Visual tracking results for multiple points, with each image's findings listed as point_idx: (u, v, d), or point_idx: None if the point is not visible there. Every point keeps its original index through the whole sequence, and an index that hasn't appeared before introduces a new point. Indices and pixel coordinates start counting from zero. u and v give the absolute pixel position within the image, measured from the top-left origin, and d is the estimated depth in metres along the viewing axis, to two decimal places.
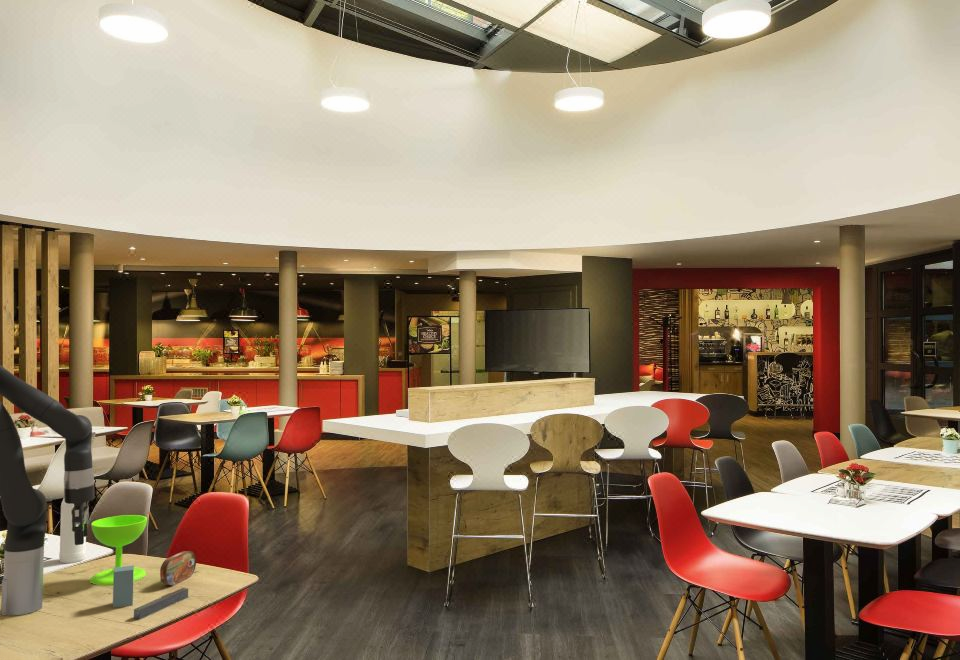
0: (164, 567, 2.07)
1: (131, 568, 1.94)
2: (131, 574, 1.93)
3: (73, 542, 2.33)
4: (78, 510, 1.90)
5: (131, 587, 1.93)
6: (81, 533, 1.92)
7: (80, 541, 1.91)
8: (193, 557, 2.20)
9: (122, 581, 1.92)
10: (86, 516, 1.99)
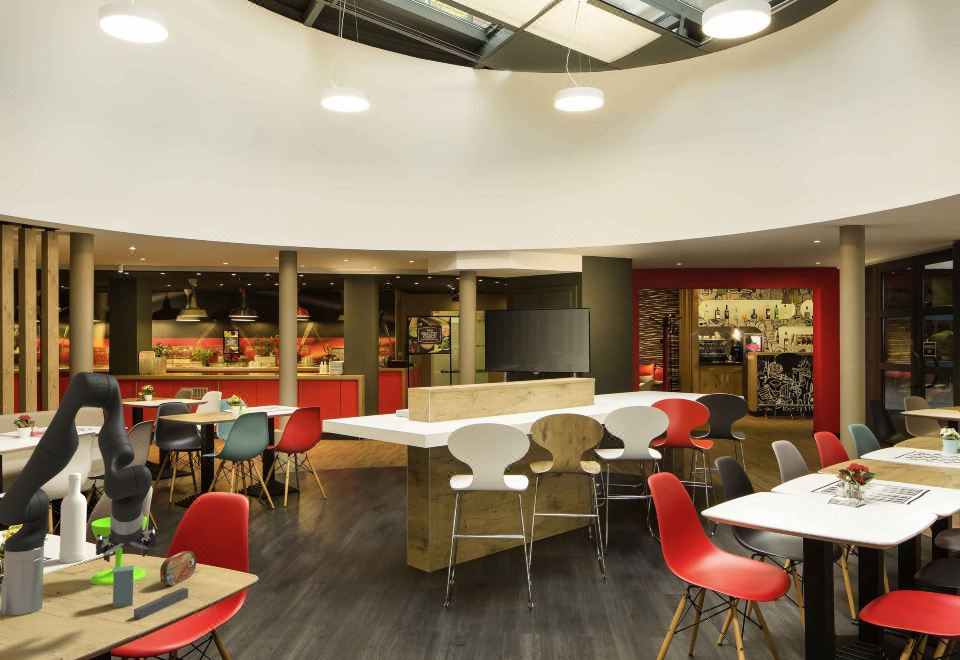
0: (164, 567, 2.07)
1: (131, 568, 1.94)
2: (131, 574, 1.93)
3: (73, 542, 2.33)
4: (97, 540, 1.76)
5: (131, 587, 1.93)
6: (105, 555, 1.80)
7: None
8: (193, 557, 2.20)
9: (122, 581, 1.92)
10: None
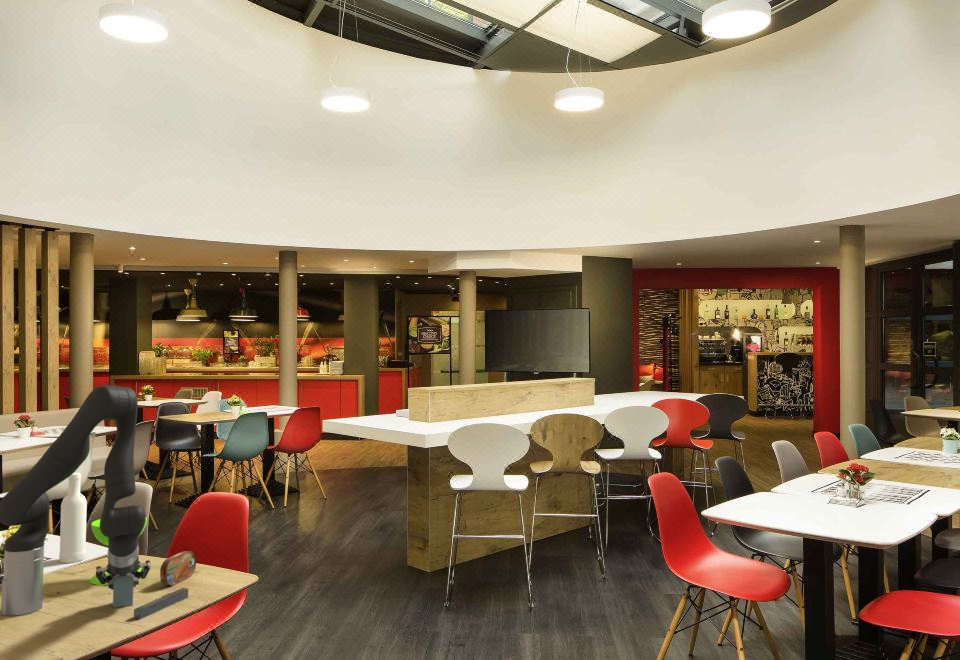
0: (164, 567, 2.07)
1: None
2: None
3: (73, 542, 2.33)
4: (96, 572, 1.86)
5: (131, 587, 1.93)
6: (109, 583, 1.92)
7: None
8: (193, 557, 2.20)
9: (122, 581, 1.92)
10: (130, 576, 1.92)
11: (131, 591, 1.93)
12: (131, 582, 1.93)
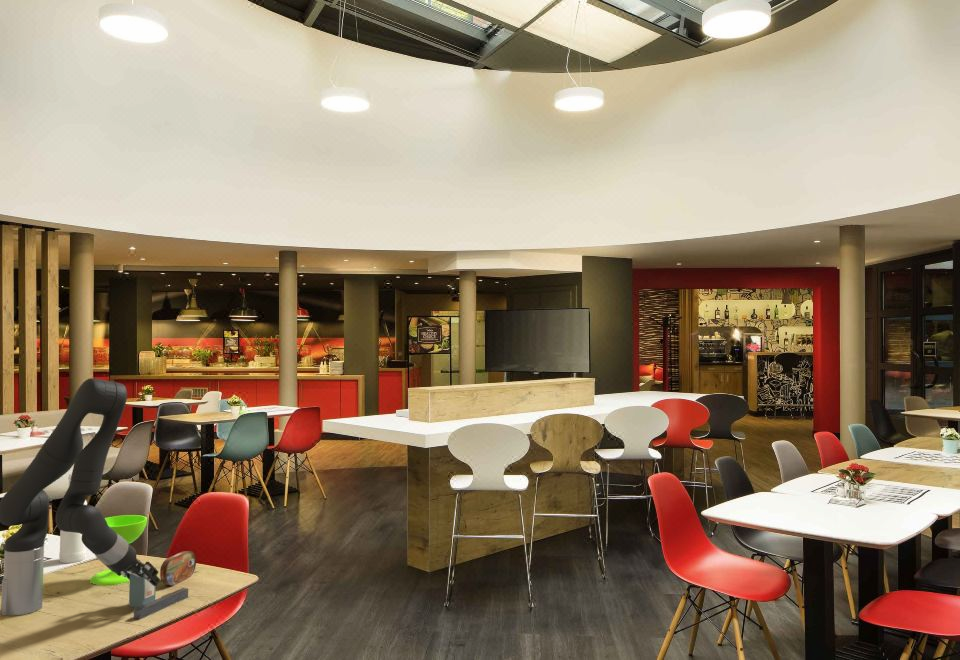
0: (164, 567, 2.07)
1: None
2: None
3: (73, 542, 2.33)
4: None
5: (142, 590, 1.91)
6: None
7: None
8: (193, 557, 2.20)
9: (136, 582, 1.91)
10: None
11: (142, 594, 1.91)
12: (142, 585, 1.91)
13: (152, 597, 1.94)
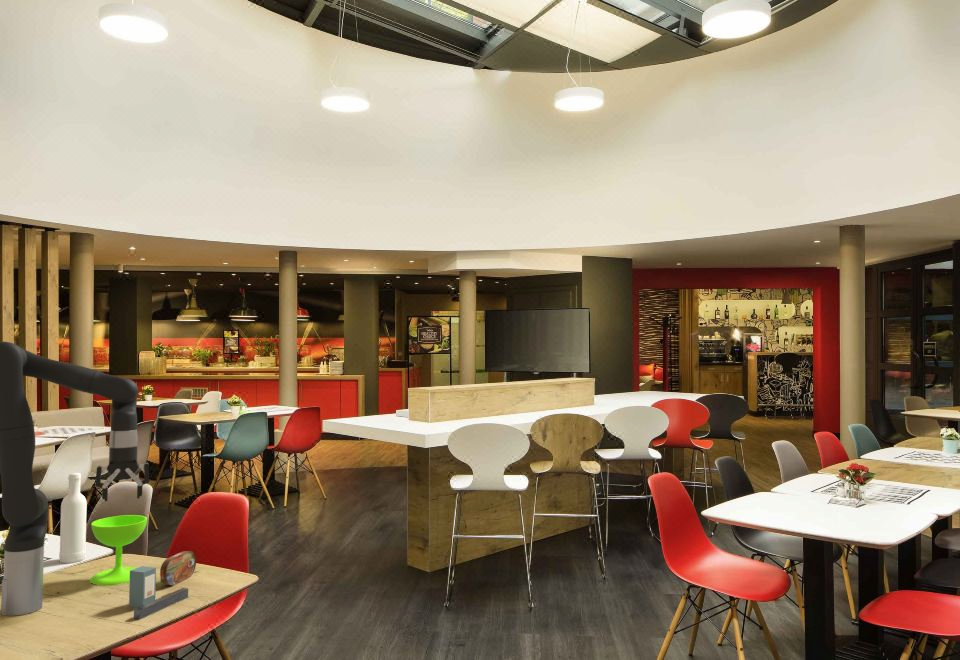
0: (164, 567, 2.07)
1: (146, 570, 1.92)
2: (142, 576, 1.91)
3: (73, 542, 2.33)
4: (97, 467, 2.00)
5: (142, 590, 1.91)
6: (103, 490, 2.00)
7: None
8: (193, 557, 2.20)
9: (136, 582, 1.91)
10: (132, 478, 2.03)
11: (142, 594, 1.91)
12: (142, 585, 1.91)
13: (152, 597, 1.94)
